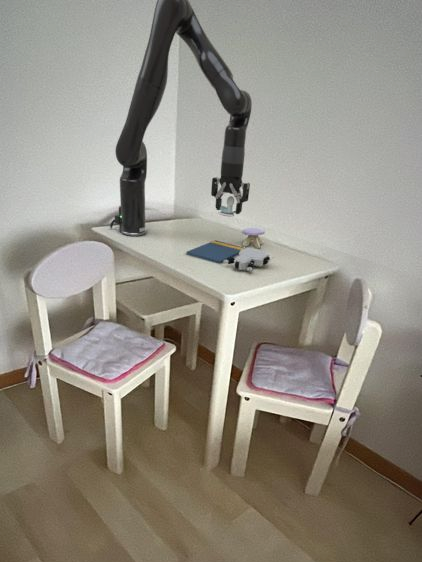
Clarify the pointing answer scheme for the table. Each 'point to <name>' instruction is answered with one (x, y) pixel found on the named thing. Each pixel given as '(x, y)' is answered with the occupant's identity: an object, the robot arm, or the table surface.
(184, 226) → the table surface
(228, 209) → the pacifier
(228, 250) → the blue book
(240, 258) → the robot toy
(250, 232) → the toy table
